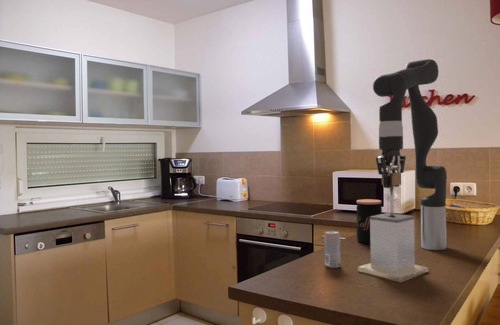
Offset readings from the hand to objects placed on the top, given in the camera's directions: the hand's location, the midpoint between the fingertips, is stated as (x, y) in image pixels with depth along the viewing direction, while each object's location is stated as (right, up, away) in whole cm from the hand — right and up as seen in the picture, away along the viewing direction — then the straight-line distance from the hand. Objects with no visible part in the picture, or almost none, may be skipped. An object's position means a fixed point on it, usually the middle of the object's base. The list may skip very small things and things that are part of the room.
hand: (391, 186), depth 138 cm
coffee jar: (+6, -27, +45) cm, 53 cm away
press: (+1, -28, +1) cm, 28 cm away
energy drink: (-18, -29, +9) cm, 35 cm away
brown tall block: (0, -17, +1) cm, 17 cm away
